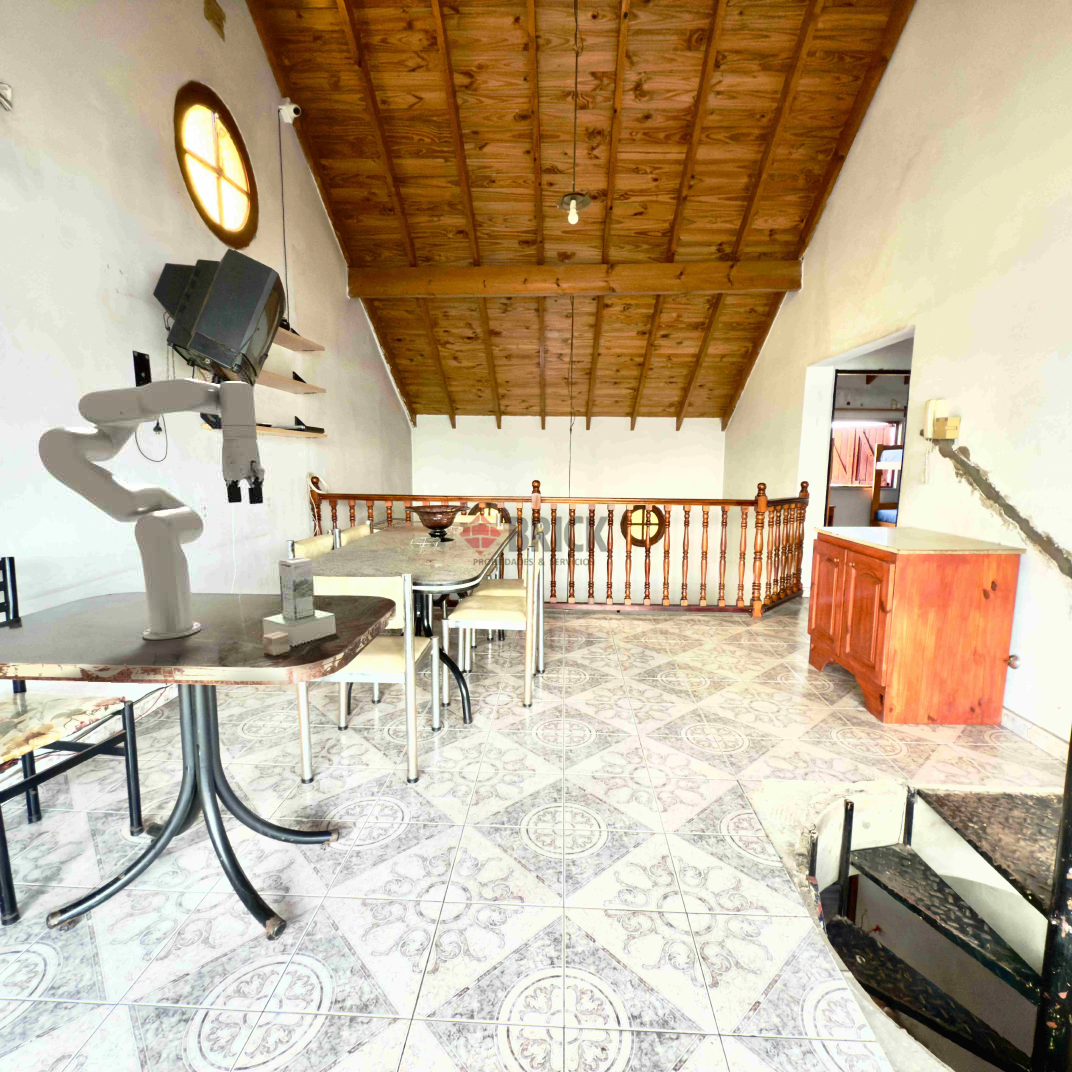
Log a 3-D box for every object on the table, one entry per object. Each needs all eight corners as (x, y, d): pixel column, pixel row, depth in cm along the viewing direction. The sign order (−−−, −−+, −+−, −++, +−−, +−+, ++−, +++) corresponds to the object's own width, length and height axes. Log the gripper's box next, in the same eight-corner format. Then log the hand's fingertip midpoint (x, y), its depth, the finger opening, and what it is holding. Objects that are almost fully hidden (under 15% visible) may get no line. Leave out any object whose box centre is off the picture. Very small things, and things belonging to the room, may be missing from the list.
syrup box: (302, 612, 145) (298, 556, 143) (316, 615, 141) (312, 558, 140) (281, 617, 140) (277, 560, 138) (295, 621, 137) (290, 562, 135)
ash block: (264, 652, 130) (262, 636, 129) (280, 647, 133) (278, 631, 132) (274, 655, 128) (272, 638, 127) (290, 650, 131) (289, 634, 130)
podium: (264, 638, 140) (262, 618, 139) (307, 625, 150) (305, 607, 149) (292, 646, 134) (291, 625, 133) (335, 633, 143) (334, 613, 143)
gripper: (206, 434, 141) (212, 503, 143) (243, 432, 131) (250, 505, 133) (236, 435, 147) (241, 501, 149) (274, 433, 137) (279, 503, 139)
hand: (245, 503), depth 141 cm, fingers open, 9 cm apart
